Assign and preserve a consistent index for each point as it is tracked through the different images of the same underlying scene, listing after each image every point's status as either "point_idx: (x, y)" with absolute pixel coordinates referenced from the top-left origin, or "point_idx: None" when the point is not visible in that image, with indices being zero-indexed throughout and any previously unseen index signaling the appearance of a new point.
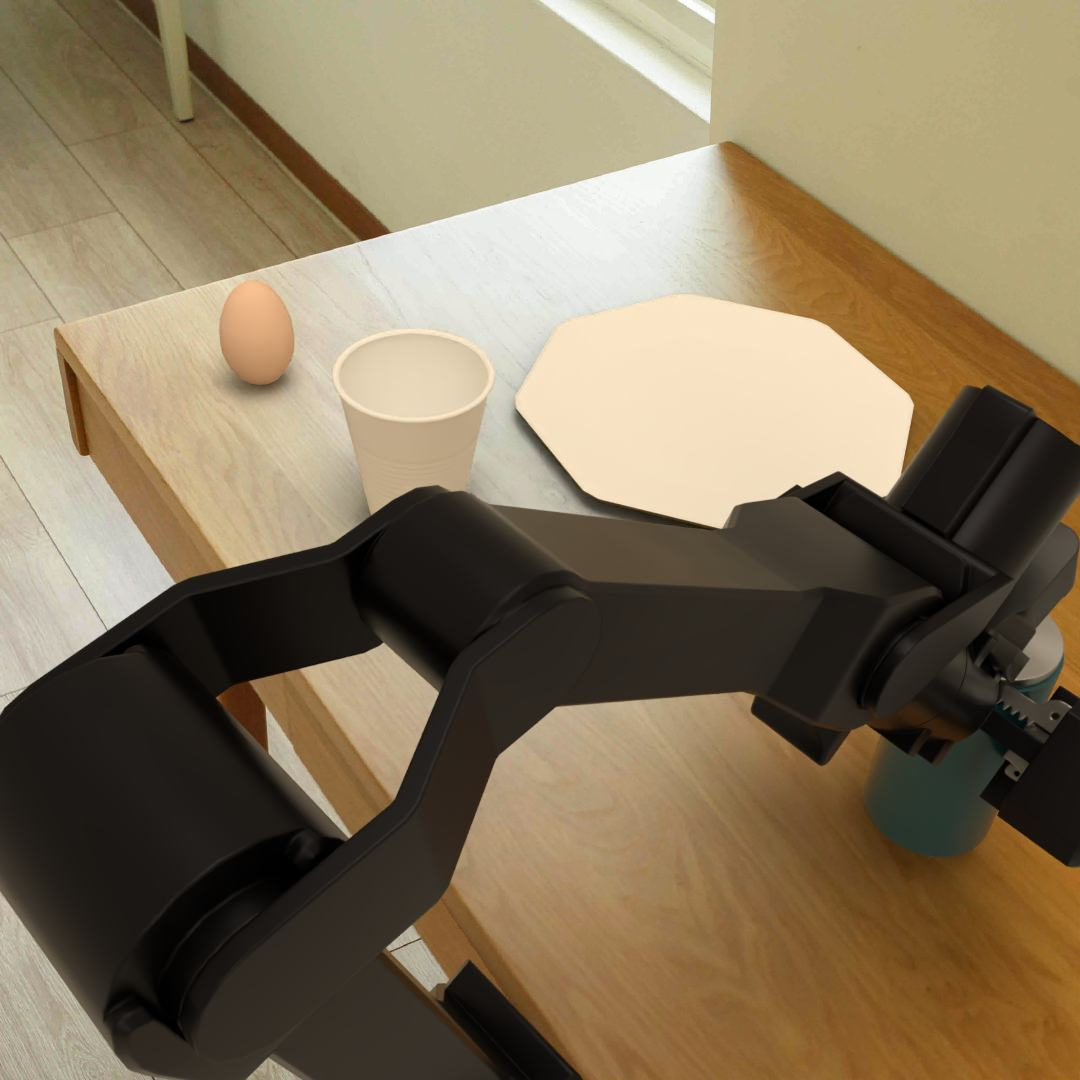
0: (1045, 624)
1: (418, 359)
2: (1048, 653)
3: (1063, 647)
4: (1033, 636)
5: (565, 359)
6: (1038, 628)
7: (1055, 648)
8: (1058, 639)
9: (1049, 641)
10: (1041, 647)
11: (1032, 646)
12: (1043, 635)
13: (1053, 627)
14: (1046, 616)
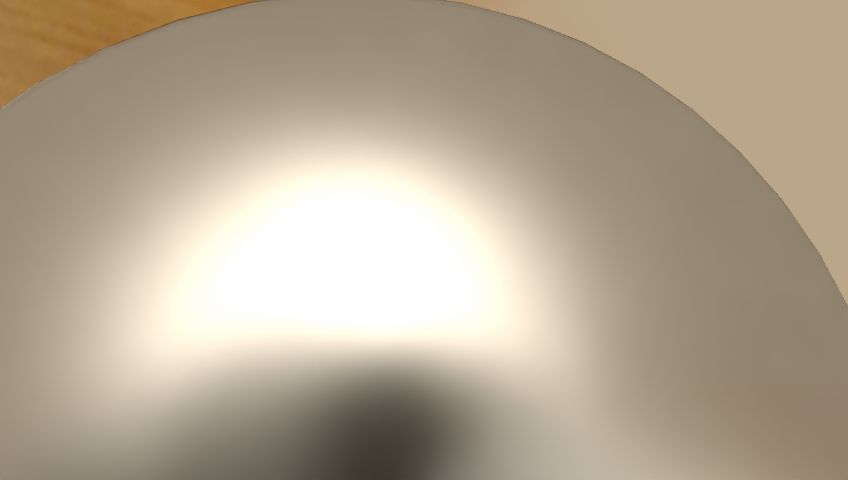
0: (648, 175)
1: None
2: (816, 449)
3: (839, 295)
4: (651, 363)
5: None
6: (633, 252)
7: (815, 352)
8: (787, 254)
9: (754, 320)
10: (748, 426)
11: (703, 475)
12: (692, 291)
13: (699, 160)
14: (610, 88)
